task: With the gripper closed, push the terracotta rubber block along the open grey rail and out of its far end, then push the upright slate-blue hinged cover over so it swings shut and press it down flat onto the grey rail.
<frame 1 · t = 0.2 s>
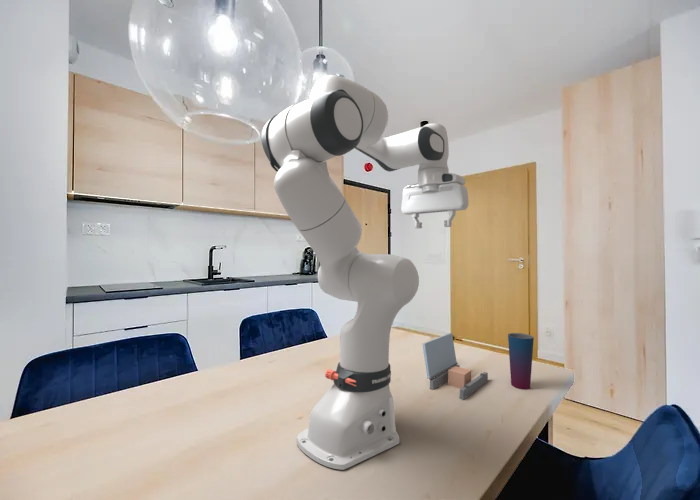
hand: (432, 227, 94), 47 cm above the table, tool pointing down, fingers open, 8 cm apart
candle: (434, 366, 112), on the table
block: (459, 385, 95), on the table
cup: (520, 386, 95), on the table
grey rail: (459, 384, 95), on the table
cover: (440, 354, 100), point 8 cm above the table, hinge at 100.0°
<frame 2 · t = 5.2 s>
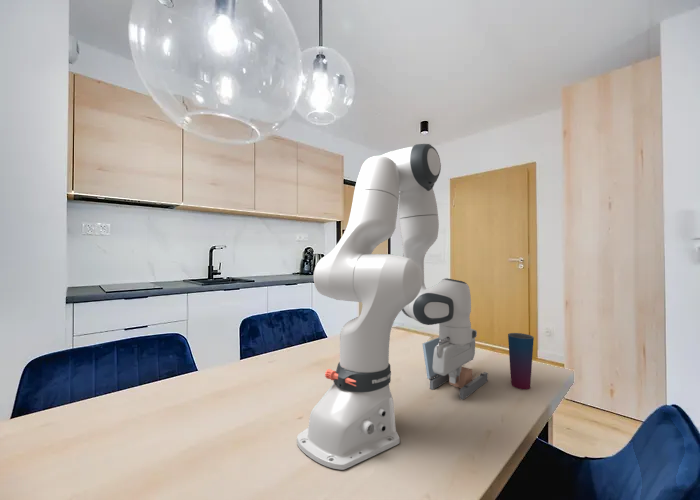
hand: (454, 381, 93), 2 cm above the table, tool pointing down, fingers closed
block: (460, 384, 96), on the table, touching gripper
everything else where it was.
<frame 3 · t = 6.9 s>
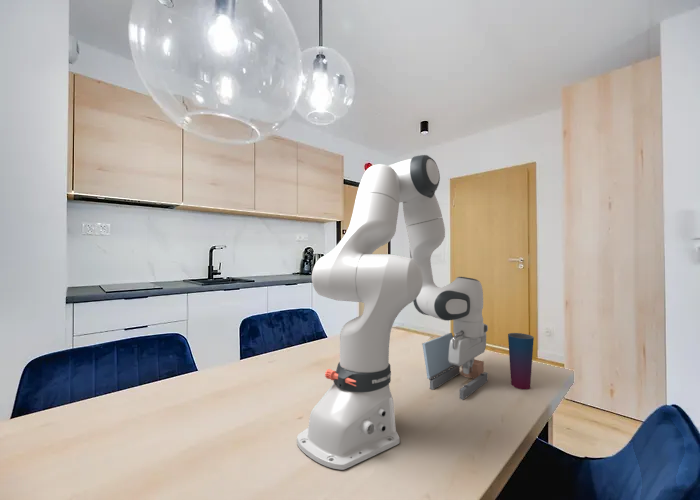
hand: (467, 372, 100), 2 cm above the table, tool pointing down, fingers closed
block: (472, 375, 103), on the table, touching gripper
everything else where it was.
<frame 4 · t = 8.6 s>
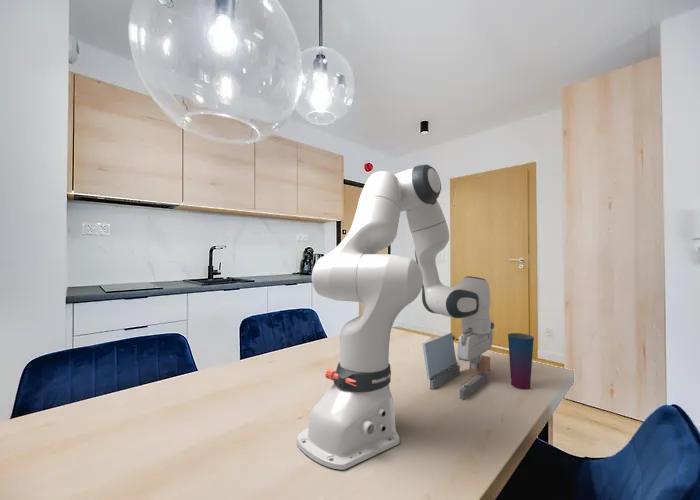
hand: (475, 368, 104), 2 cm above the table, tool pointing down, fingers closed
block: (479, 370, 108), on the table, touching gripper
everything else where it was.
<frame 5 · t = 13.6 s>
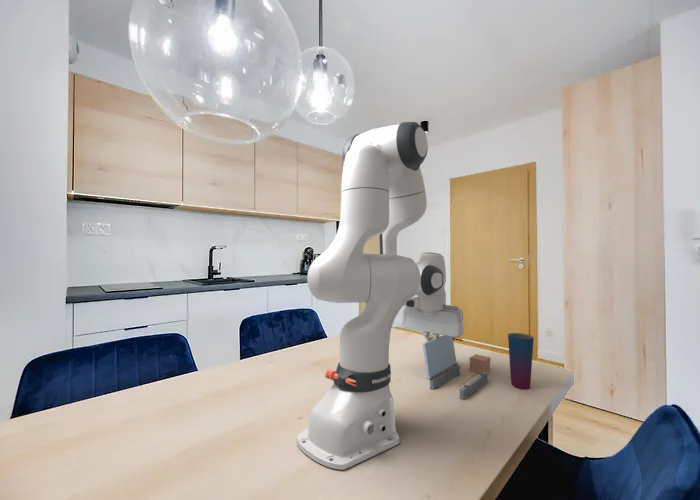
hand: (431, 346, 102), 10 cm above the table, tool pointing down, fingers closed
block: (479, 370, 108), on the table
cover: (440, 354, 100), point 8 cm above the table, hinge at 99.9°, touching gripper
everything else where it was.
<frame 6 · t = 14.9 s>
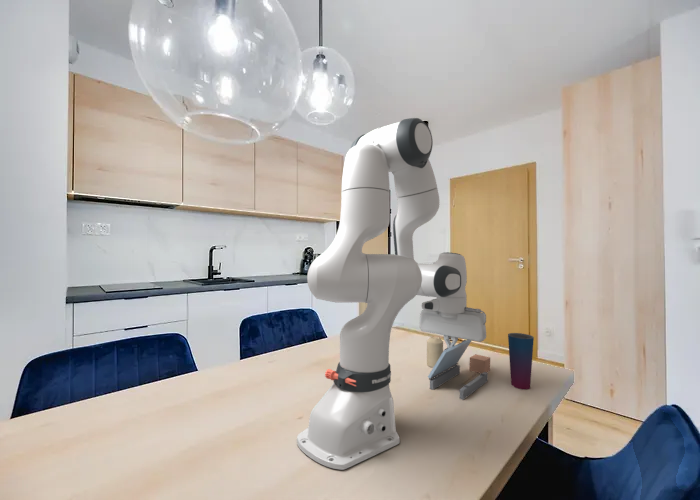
hand: (450, 350, 97), 10 cm above the table, tool pointing down, fingers closed
cover: (450, 357, 98), point 7 cm above the table, hinge at 60.1°, touching gripper
everything else where it was.
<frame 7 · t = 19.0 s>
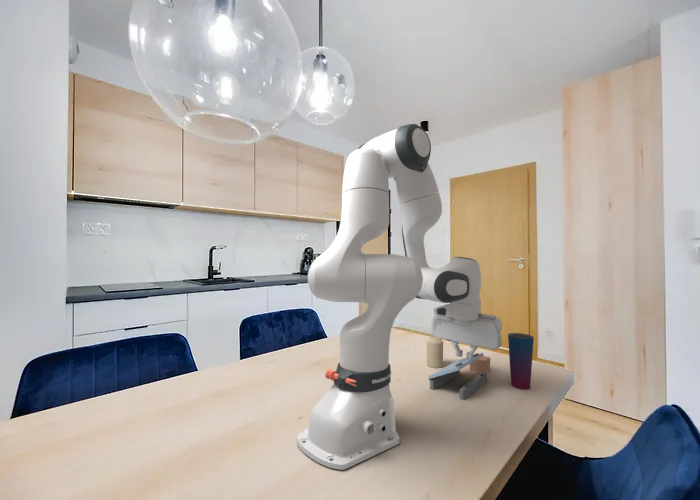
hand: (464, 357, 95), 8 cm above the table, tool pointing down, fingers closed
cover: (456, 365, 96), point 6 cm above the table, hinge at 28.3°, touching gripper
everything else where it was.
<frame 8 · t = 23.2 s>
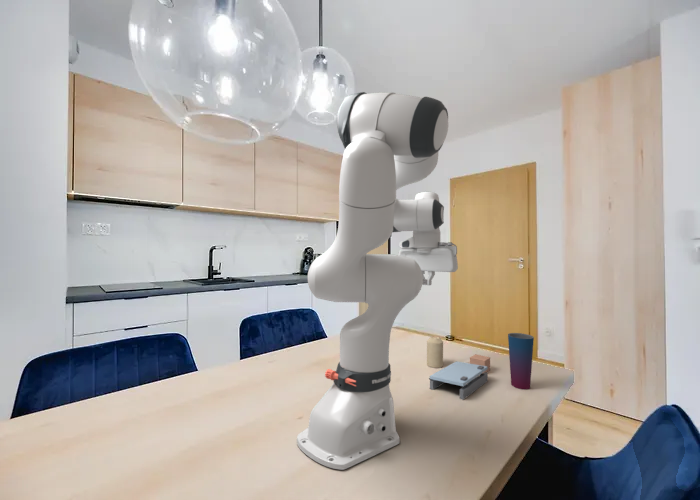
hand: (426, 285, 104), 29 cm above the table, tool pointing down, fingers closed
cover: (459, 372, 96), point 4 cm above the table, hinge at 4.0°
everything else where it was.
at the end: cover at +4° (first picture: +100°); block inside the target area (0.6 cm from its centre), on the table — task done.
